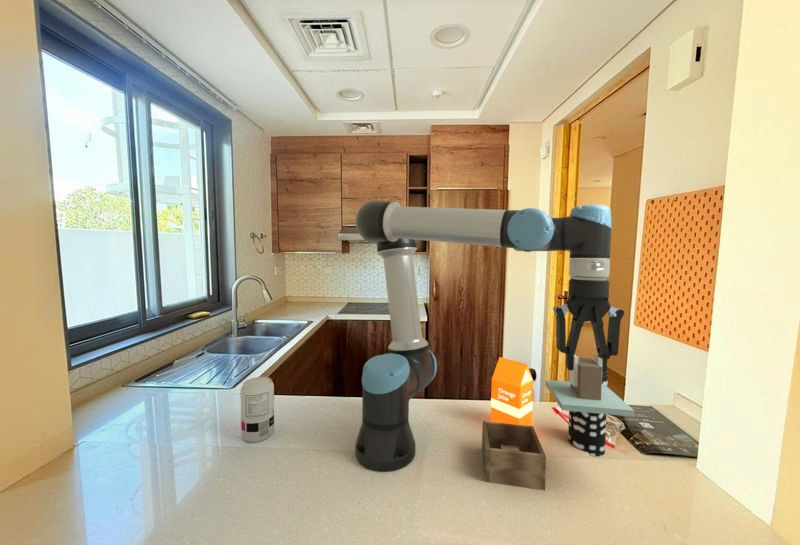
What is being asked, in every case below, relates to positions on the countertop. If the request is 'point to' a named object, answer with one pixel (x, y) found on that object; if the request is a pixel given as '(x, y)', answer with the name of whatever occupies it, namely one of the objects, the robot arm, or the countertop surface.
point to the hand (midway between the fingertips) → (585, 384)
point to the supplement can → (257, 409)
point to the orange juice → (512, 393)
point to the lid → (588, 392)
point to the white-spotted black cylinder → (588, 429)
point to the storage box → (513, 455)
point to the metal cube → (510, 447)
